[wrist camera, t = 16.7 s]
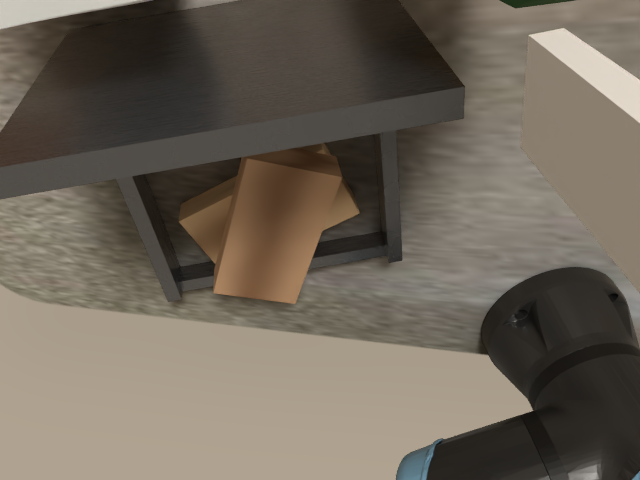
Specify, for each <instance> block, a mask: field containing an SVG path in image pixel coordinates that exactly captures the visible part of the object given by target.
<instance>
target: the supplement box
mask: <svg viewBox="0 0 640 480" xmlns="http://www.w3.org/2000/svg"><path fill="white" fill-rule="evenodd" d="M147 1H152V0H0V29H5V28H9V27H15V26H19V25H23V24H28V23H33V22H38V21H43V20H48V19H53V18H58V17H63V16H68V15H74V14H80V13H86V12H92V11H97V10H103V9H108V8H114V7H119V6H125V5H131V4H136V3H141V2H147Z"/></svg>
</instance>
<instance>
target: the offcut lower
mask: <svg viewBox="0 0 640 480" xmlns="http://www.w3.org/2000/svg"><path fill="white" fill-rule="evenodd" d="M297 148H298V149H303V150H307V151H312V152H316V153H321V154H327V155H331V154H330V152H329V151H328V149H327V147H326V145H325V144H324V143H320V144H314V145H309V146H303V147H297ZM341 175H342V173H341ZM236 179H237V176H235V177H233V178H231V179H229V180H227V181H225V182H223V183H221V184H219V185H217V186H215V187H213V188H211V189H209V190H207V191H205V192H203V193H201V194H199V195H198V196H196V197H194V198H192V199H190V200H188V201H186V202H184V203H182V204H181V207H180V215H179V223H180V224H181V225H182V226H183V227H184V228H185V230H186V231H187V232H188V233H189V234H190V235H191V237H192V238H193V239H194V240H195V241H196V242H197V243H198V245H199V246H200V247H201V248H202V249H203V250H204V251H205V253H206V254H207V255H208V256H209V257H210V258H211V260H212V261H213V262H214V263H215V264H216V260H217V256H218V252H219V248H220V244H221V240H222V236H223V232H224V228H225V224H226V220H227V216H228V211H229V207H230V203H231V199H232V195H233V191H234V187H235V183H236ZM357 214H360V212H359V209H358V206H357V202H356V199H355V196H354V194H353V193H352V191H351V189H350V187H349V186H348V184H347V182H346V180H345V179H344V177H343V175H342V179H341V182H340V185H339V187H338V190H337V193H336V196H335V198H334V201H333V204H332V206H331V209H330V212H329V214H328V217H327V220H326V222H325V225H324V228H323V230H326V229H328V228H330V227H332V226H334V225H336V224H338V223H340V222H343V221H345V220H347V219H349V218H351V217H353V216H355V215H357ZM323 230H322V231H323Z"/></svg>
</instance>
